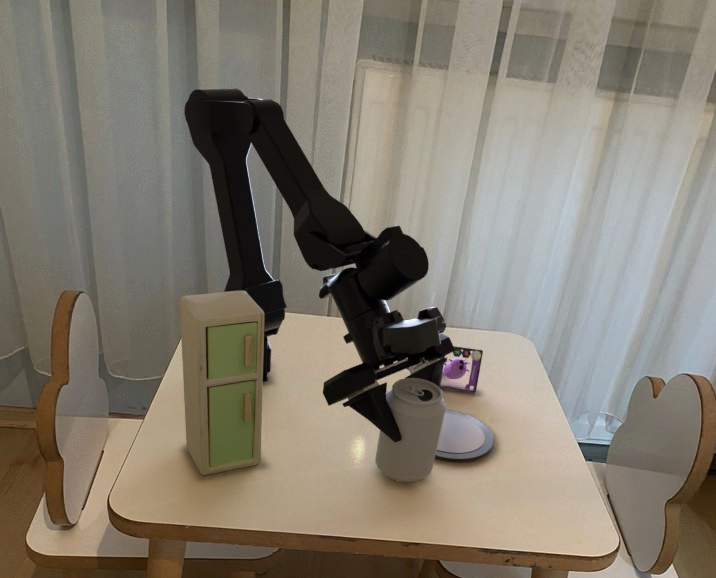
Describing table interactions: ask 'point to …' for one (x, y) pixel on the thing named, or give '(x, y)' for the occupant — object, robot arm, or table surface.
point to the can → (412, 430)
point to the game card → (462, 368)
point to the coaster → (463, 438)
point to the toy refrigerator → (222, 379)
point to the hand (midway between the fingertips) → (419, 431)
